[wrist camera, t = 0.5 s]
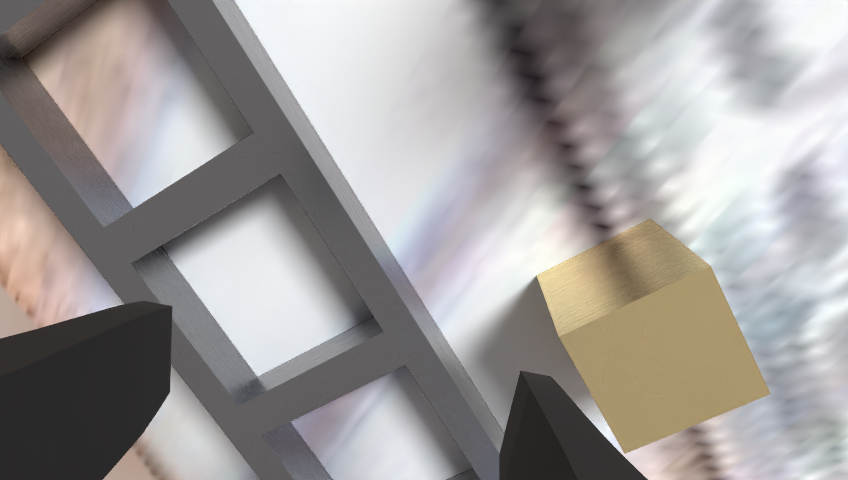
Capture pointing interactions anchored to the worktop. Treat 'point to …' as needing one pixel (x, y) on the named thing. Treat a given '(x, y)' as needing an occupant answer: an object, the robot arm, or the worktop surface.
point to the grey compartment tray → (209, 193)
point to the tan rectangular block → (650, 335)
